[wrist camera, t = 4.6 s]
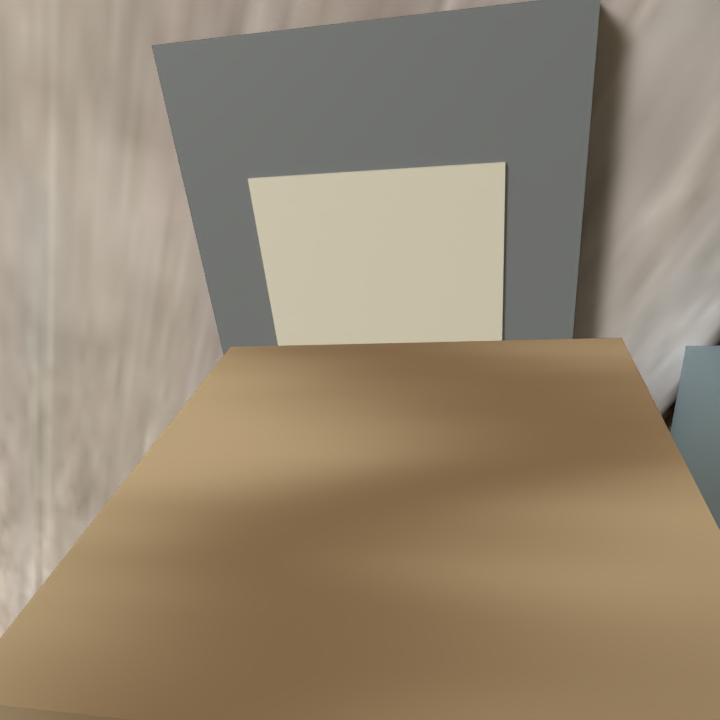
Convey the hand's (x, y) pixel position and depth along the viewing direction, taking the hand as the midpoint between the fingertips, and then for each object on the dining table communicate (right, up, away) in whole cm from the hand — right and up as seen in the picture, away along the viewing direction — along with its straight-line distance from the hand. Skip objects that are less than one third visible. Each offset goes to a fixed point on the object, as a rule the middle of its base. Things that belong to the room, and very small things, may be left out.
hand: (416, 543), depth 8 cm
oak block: (0, 0, +1) cm, 1 cm away
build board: (0, +5, +11) cm, 12 cm away
